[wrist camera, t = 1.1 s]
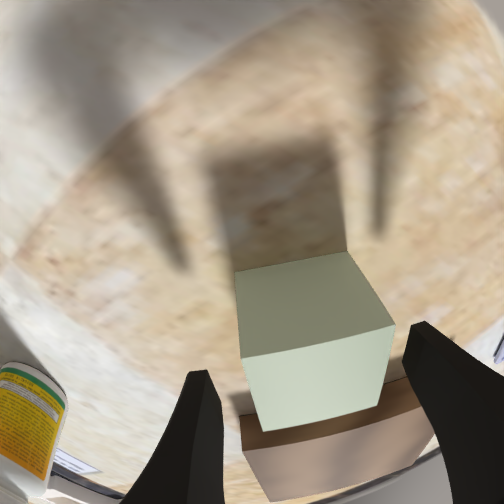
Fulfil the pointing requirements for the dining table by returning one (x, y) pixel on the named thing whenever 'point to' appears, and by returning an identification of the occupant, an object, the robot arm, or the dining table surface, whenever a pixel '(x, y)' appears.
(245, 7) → the dining table surface
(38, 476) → the supplement bottle
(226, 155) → the dining table surface
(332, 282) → the sage block
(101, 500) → the holder
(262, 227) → the dining table surface
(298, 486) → the walnut base
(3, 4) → the dining table surface
